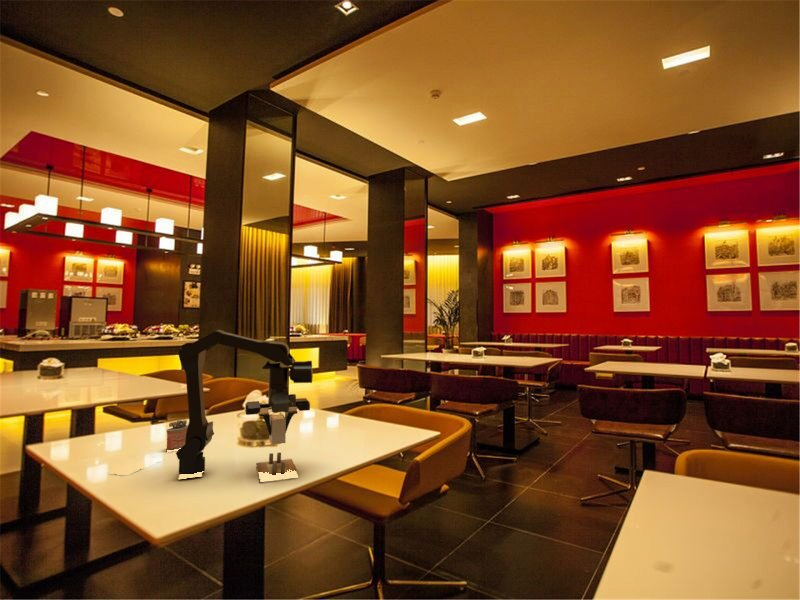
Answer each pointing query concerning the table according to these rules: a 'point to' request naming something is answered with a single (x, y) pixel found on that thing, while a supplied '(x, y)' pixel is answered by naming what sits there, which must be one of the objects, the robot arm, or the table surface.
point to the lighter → (176, 434)
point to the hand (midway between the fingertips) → (277, 434)
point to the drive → (277, 429)
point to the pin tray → (276, 465)
